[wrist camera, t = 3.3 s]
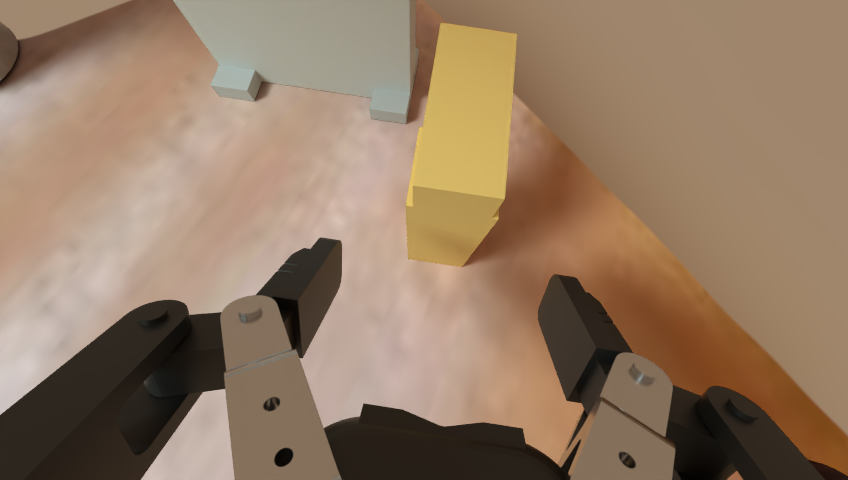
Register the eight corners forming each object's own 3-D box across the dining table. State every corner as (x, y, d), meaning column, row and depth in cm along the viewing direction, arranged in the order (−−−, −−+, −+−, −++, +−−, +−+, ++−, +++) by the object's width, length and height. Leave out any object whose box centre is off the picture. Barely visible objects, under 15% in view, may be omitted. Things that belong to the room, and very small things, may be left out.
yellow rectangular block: (408, 258, 23) (404, 184, 11) (423, 163, 25) (434, 21, 14) (461, 267, 23) (513, 200, 11) (472, 171, 25) (524, 34, 14)
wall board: (219, 96, 26) (68, -89, 15) (245, 33, 28) (130, -173, 17) (406, 123, 26) (402, -41, 15) (418, 59, 28) (423, -130, 17)
